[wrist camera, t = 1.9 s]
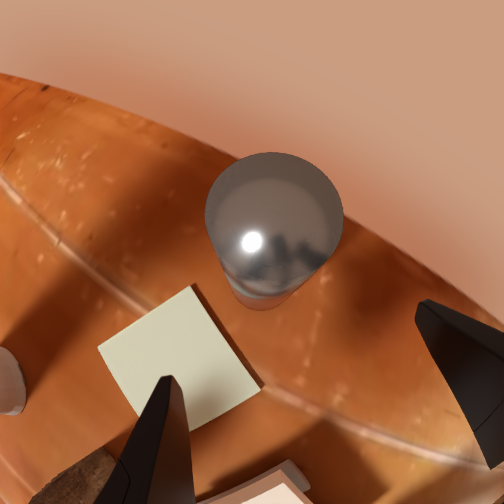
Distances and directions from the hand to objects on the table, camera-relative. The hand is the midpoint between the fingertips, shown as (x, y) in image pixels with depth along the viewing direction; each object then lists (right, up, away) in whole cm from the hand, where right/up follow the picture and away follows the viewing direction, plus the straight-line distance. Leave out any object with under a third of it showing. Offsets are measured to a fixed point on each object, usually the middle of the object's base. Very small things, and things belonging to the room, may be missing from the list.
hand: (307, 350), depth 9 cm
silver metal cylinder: (-1, +1, +12) cm, 12 cm away
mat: (-7, -5, +10) cm, 14 cm away
